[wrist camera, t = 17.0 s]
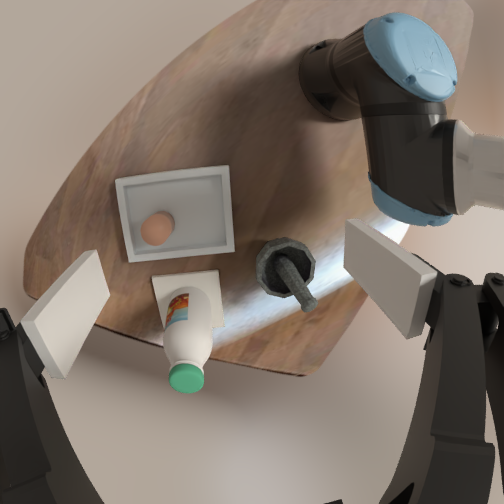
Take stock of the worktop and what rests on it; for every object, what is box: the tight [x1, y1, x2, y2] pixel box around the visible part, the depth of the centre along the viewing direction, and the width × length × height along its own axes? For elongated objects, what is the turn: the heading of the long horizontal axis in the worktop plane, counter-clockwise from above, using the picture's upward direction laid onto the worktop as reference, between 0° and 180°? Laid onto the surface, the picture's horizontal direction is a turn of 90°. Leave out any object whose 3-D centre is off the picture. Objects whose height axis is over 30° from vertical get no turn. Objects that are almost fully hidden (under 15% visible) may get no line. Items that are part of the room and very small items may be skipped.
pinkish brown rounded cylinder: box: [140, 211, 175, 246], centre depth 43 cm, size 4×4×5 cm
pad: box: [152, 269, 225, 328], centre depth 52 cm, size 12×12×1 cm
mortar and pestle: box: [256, 237, 318, 312], centre depth 46 cm, size 11×9×12 cm
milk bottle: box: [163, 287, 212, 393], centre depth 42 cm, size 8×8×20 cm
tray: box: [115, 165, 235, 263], centre depth 45 cm, size 18×14×2 cm
